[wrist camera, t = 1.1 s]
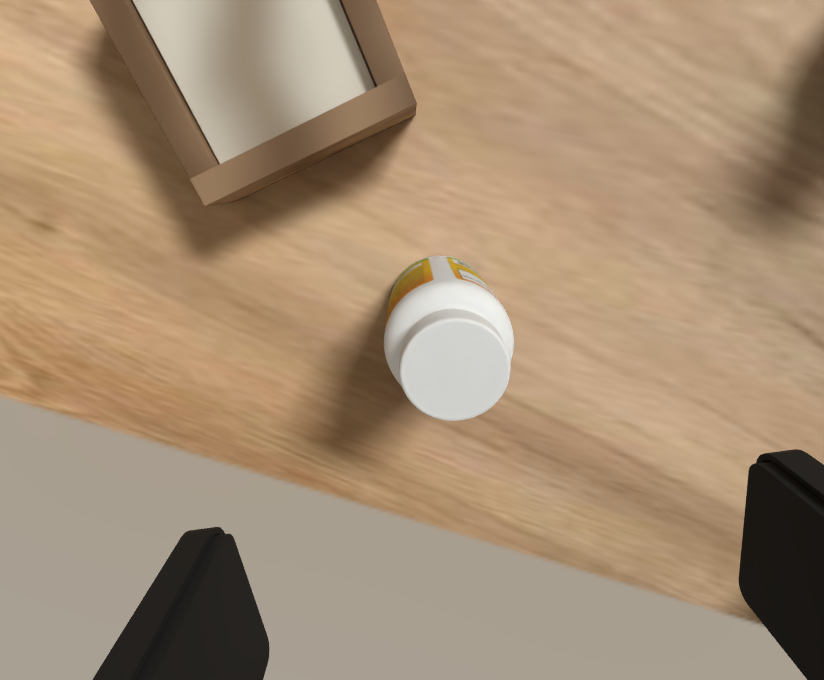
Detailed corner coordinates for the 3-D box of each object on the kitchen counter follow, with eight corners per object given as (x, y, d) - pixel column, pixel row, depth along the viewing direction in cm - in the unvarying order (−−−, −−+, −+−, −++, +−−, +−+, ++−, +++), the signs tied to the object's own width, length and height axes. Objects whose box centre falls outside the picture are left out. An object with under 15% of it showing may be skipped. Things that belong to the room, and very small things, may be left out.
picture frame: (320, -126, 20) (300, -192, 16) (415, 114, 23) (416, 103, 19) (120, -13, 21) (61, -51, 18) (235, 201, 24) (204, 205, 21)
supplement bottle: (393, 352, 27) (384, 443, 18) (386, 256, 25) (372, 303, 16) (488, 347, 27) (529, 435, 18) (488, 251, 25) (533, 294, 16)
